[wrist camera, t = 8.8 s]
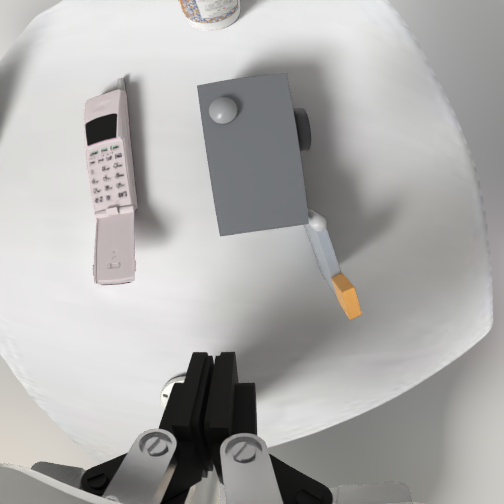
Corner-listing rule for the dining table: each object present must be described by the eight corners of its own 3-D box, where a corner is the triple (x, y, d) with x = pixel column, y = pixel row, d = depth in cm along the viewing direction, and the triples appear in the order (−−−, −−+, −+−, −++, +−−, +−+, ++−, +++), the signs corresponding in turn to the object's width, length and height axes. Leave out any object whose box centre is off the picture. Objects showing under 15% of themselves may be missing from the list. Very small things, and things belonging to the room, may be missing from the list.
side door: (307, 204, 32) (334, 219, 21) (331, 272, 34) (362, 314, 23) (296, 208, 32) (318, 225, 21) (321, 276, 34) (348, 320, 24)
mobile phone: (94, 287, 29) (69, 81, 22) (114, 270, 35) (92, 91, 28) (137, 283, 29) (111, 64, 22) (153, 266, 35) (131, 78, 28)
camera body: (309, 210, 32) (328, 222, 24) (227, 221, 33) (219, 237, 24) (292, 95, 29) (306, 70, 20) (209, 106, 29) (195, 83, 21)
